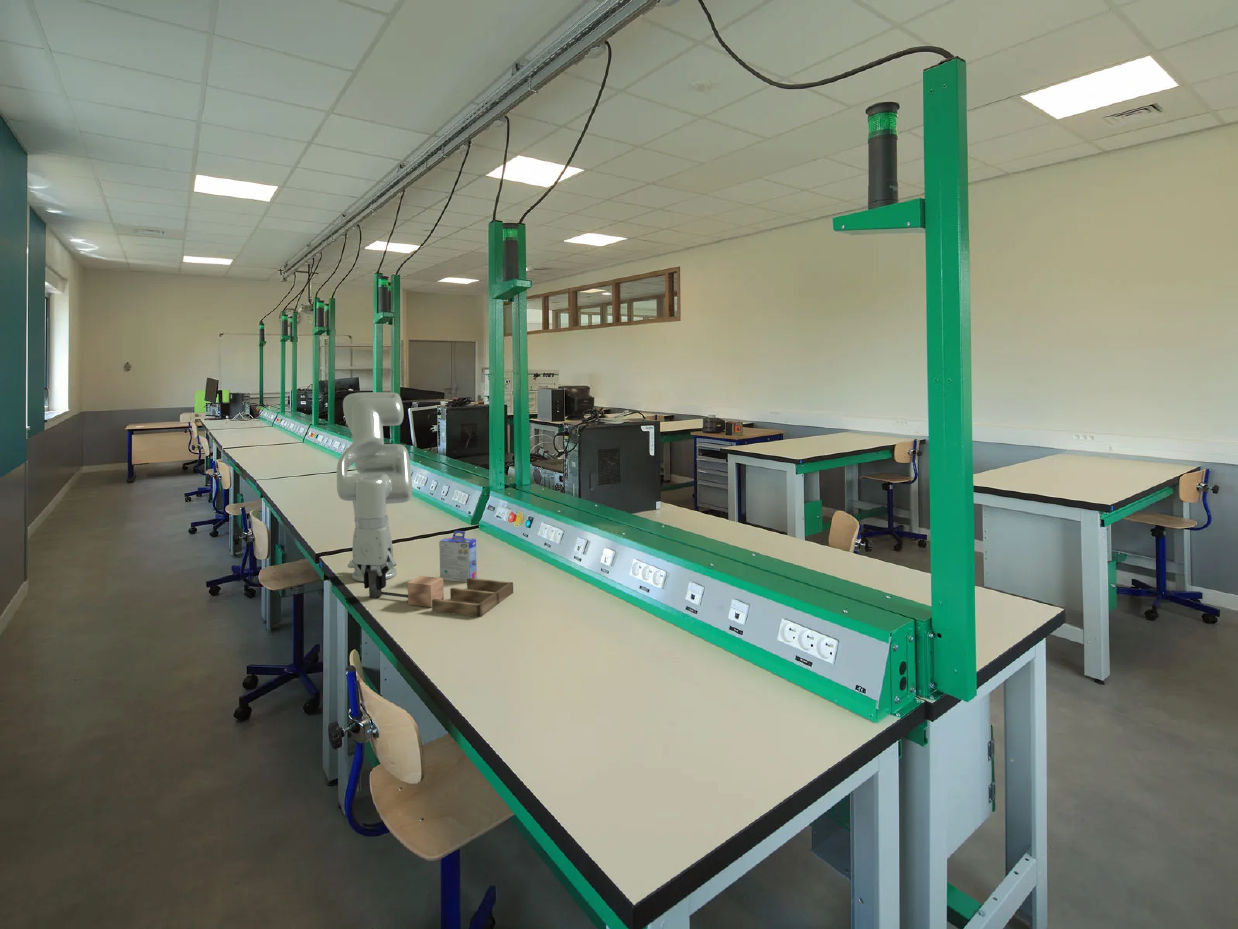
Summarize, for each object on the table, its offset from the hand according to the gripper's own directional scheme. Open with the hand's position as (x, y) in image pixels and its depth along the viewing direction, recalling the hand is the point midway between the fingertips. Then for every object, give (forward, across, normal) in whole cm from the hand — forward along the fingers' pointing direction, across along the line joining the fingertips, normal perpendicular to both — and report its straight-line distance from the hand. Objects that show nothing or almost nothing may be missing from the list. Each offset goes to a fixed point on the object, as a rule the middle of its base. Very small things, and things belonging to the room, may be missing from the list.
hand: (375, 587), depth 172 cm
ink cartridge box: (+3, +14, +20) cm, 25 cm away
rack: (+3, +28, +4) cm, 28 cm away
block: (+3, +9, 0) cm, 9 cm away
